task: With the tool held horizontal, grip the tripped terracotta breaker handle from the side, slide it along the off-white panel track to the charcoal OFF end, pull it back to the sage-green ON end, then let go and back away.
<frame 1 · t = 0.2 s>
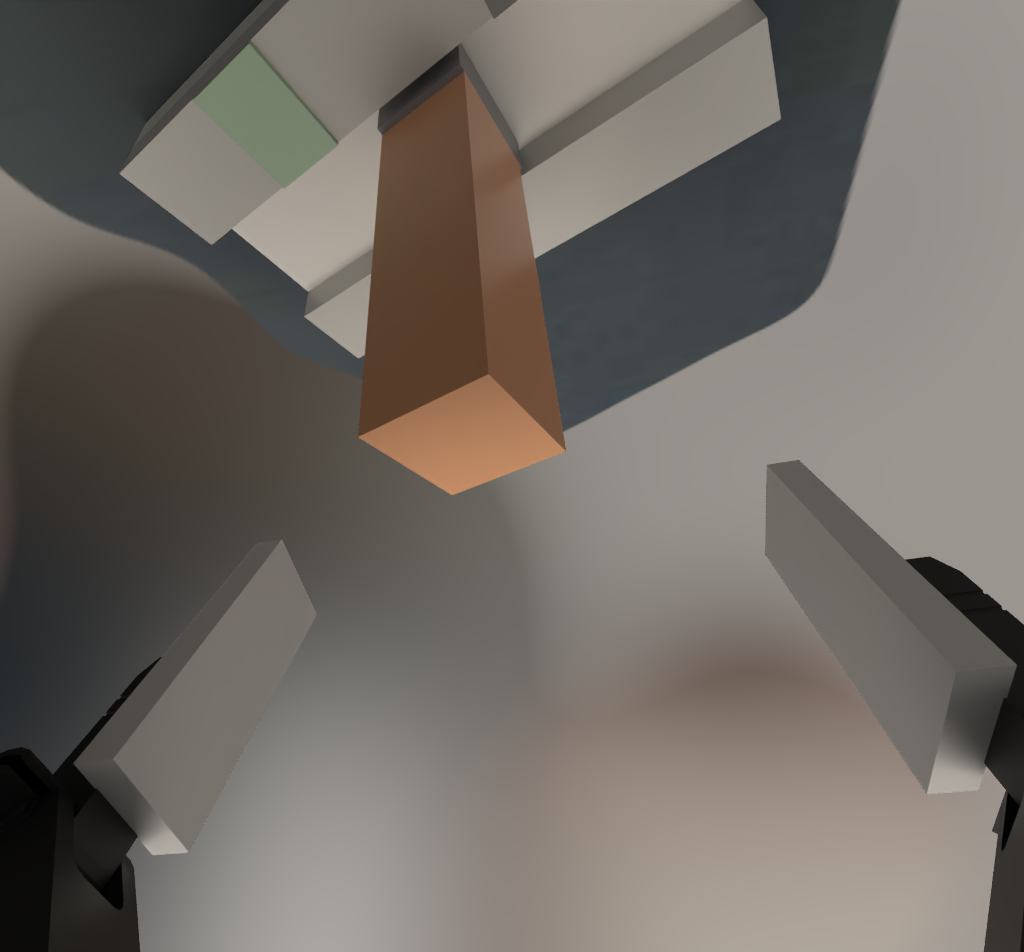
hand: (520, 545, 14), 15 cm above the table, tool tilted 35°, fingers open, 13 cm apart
breaker handle: (457, 246, 14), point 8 cm above the table, slide at 4.0 cm
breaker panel: (450, 98, 18), on the table
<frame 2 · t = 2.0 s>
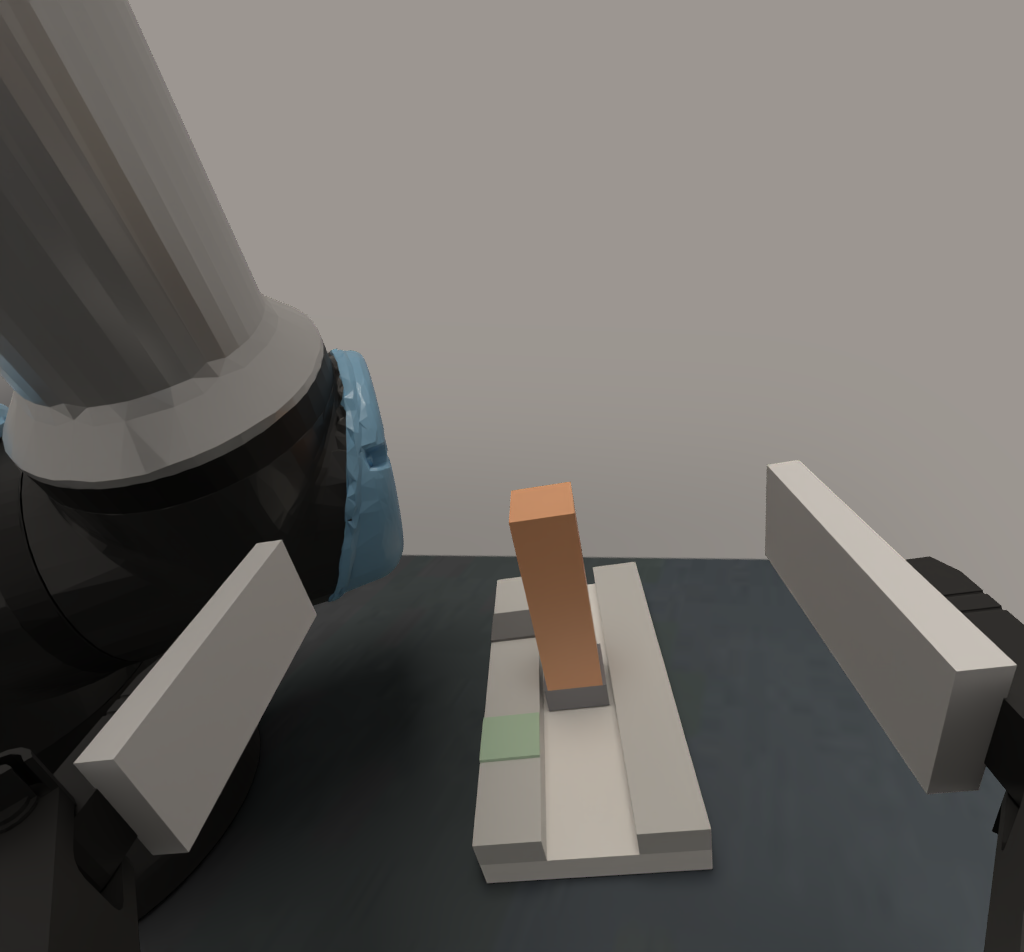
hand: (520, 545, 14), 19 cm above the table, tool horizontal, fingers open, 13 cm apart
breaker handle: (560, 603, 28), point 8 cm above the table, slide at 4.0 cm
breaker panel: (580, 704, 31), on the table
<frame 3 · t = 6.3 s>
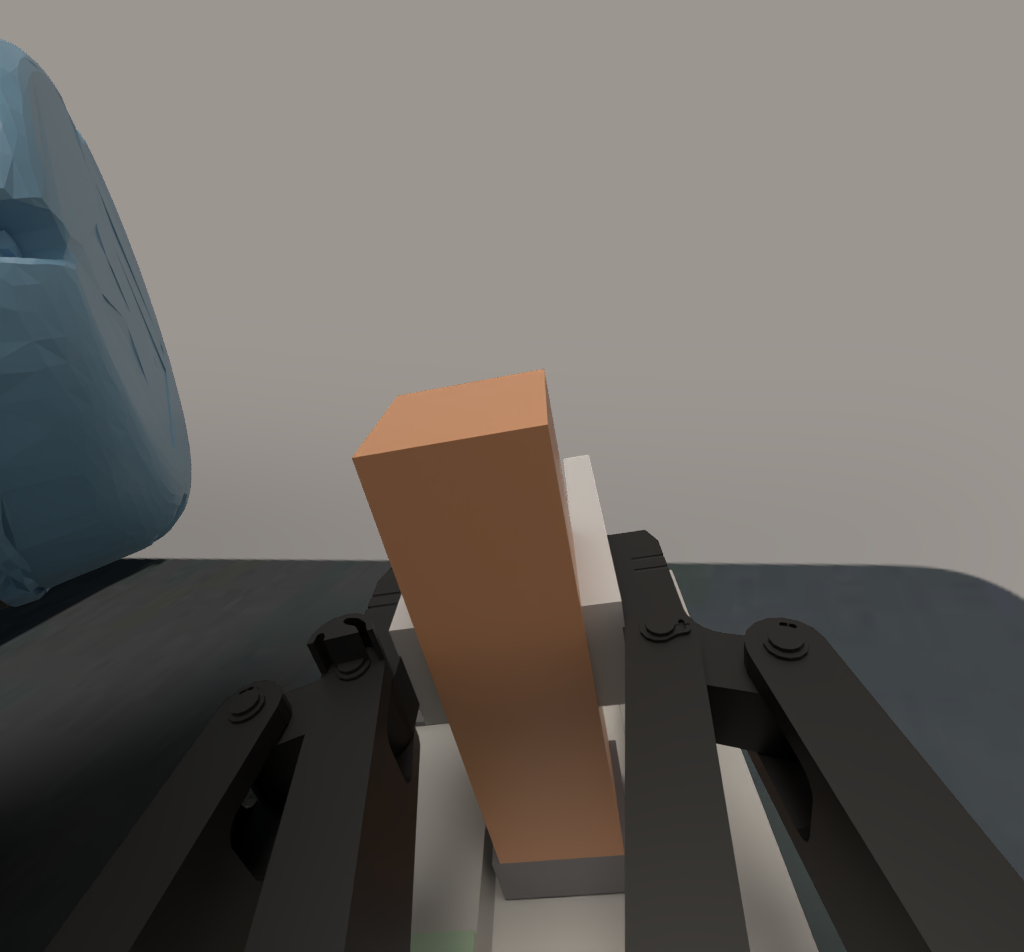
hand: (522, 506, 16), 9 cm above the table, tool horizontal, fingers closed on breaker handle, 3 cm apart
breaker handle: (526, 669, 12), point 8 cm above the table, slide at 4.0 cm, touching gripper
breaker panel: (575, 864, 15), on the table
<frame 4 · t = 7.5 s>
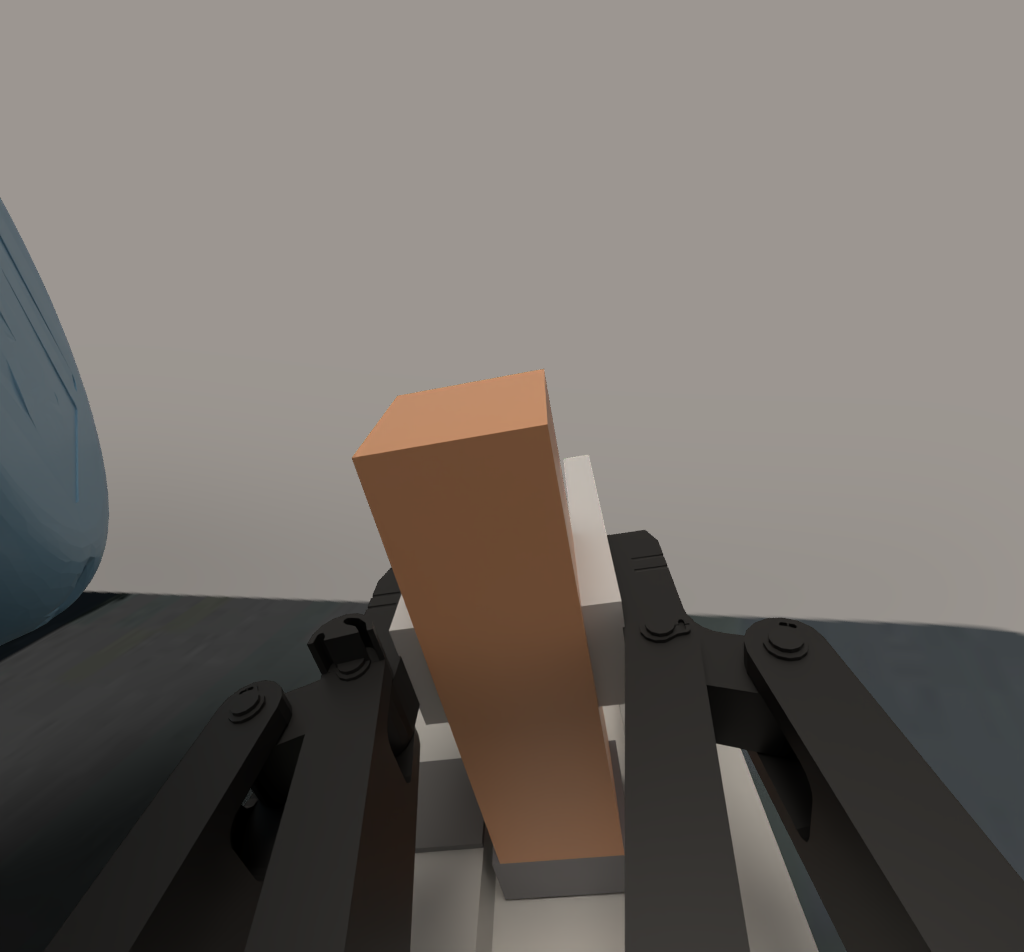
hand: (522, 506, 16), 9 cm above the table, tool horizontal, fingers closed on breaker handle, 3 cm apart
breaker handle: (526, 669, 12), point 8 cm above the table, slide at 7.8 cm, touching gripper
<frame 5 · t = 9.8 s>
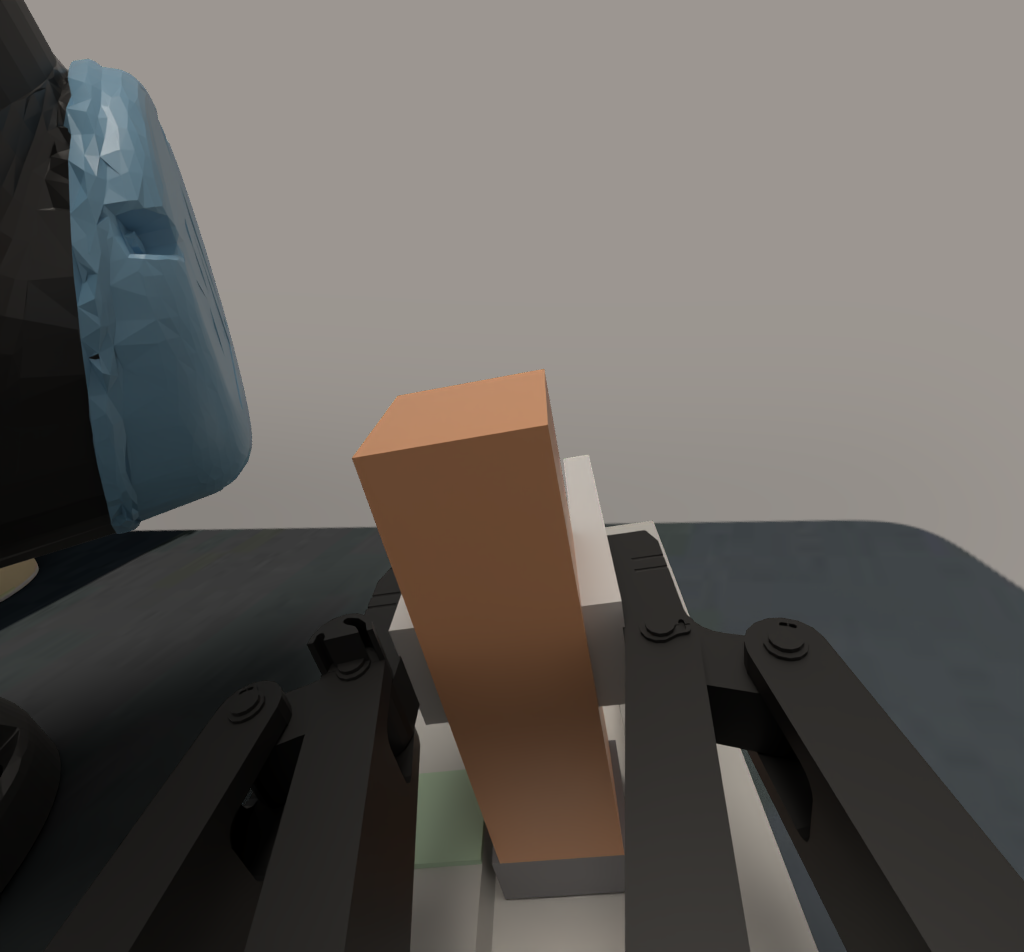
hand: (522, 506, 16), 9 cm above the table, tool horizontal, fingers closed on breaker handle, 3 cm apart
breaker handle: (526, 669, 12), point 8 cm above the table, slide at 0.2 cm, touching gripper
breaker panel: (568, 745, 19), on the table
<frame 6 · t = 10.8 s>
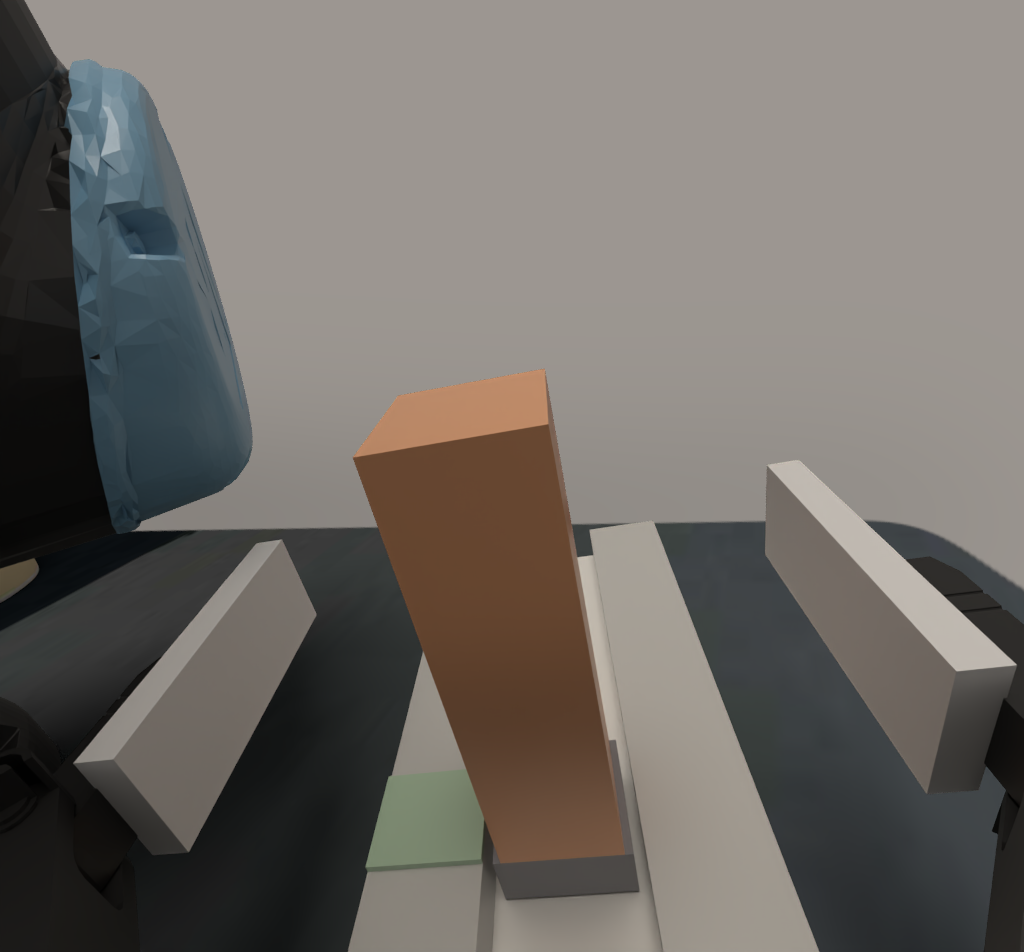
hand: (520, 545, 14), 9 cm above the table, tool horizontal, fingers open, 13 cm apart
breaker handle: (526, 668, 12), point 8 cm above the table, slide at 0.2 cm
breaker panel: (568, 745, 19), on the table
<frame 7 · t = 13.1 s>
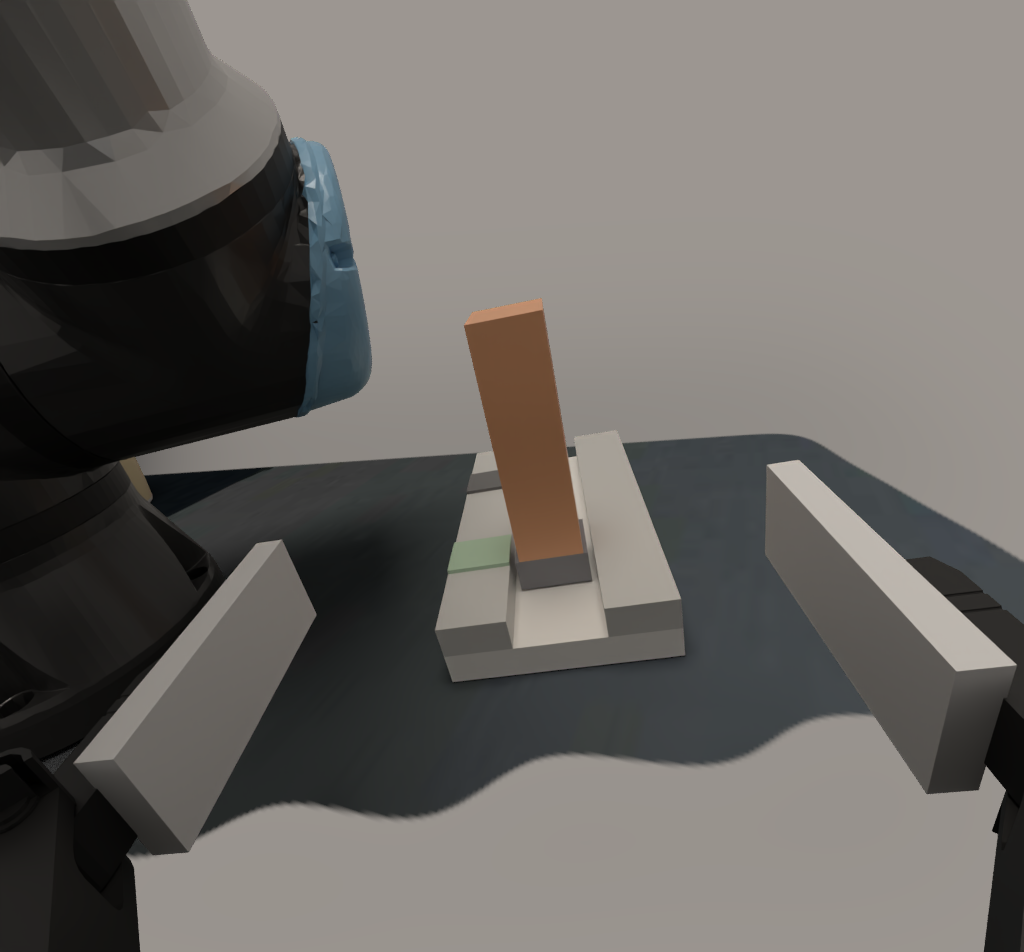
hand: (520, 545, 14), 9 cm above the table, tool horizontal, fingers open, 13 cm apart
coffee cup: (110, 515, 51), on the table
breaker handle: (533, 453, 24), point 8 cm above the table, slide at 0.2 cm
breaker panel: (557, 549, 30), on the table
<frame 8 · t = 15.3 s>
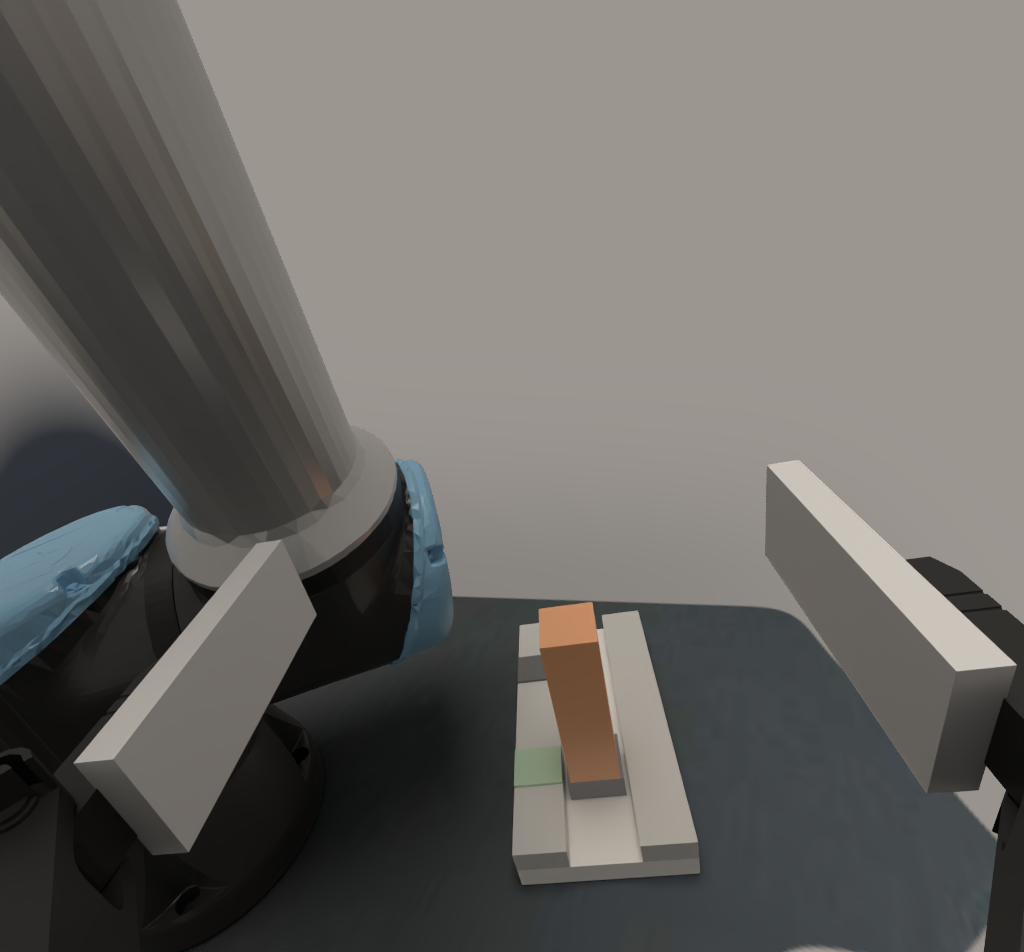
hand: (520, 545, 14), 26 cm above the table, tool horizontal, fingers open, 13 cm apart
breaker handle: (582, 705, 31), point 8 cm above the table, slide at 0.2 cm
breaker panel: (593, 736, 38), on the table
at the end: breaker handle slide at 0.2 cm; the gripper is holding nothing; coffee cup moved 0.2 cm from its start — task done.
